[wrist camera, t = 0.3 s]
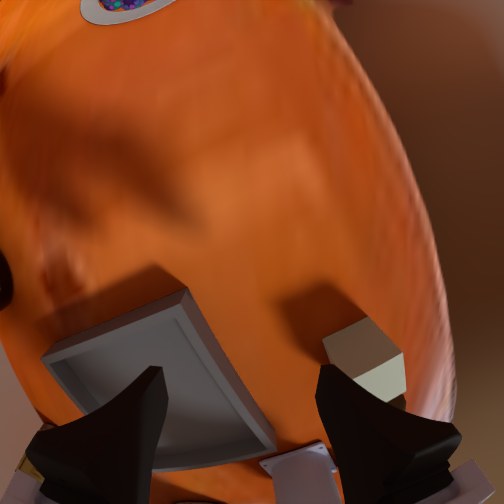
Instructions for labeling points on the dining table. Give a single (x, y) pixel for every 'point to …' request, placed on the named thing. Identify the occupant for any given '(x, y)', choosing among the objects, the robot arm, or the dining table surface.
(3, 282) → the supplement bottle
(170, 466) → the tray
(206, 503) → the canister
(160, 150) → the dining table surface
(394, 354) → the beige block
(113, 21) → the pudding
